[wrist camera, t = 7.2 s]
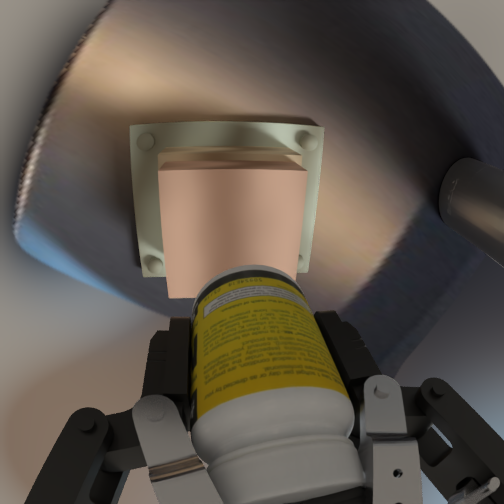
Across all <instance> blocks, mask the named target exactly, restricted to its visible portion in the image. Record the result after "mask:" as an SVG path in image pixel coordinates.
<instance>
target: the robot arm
mask: <svg viewBox="0 0 504 504" xmlns="http://www.w3.org/2000/svg"><path fill="white" fill-rule="evenodd" d="M439 210H440V215H441V217H442V220H443V221H444V223H445V224H446V225H447V226H448V227H450V228H451V229H453V230H454V231H456V232H457V233H458V234H460V235H461V236H463V237H464V238H465V239H467V240H468V241H469V242H471V243H472V244H474V245H475V246H476V247H478V248H479V249H480V250H482V251H483V252H484V253H486V254H487V255H489V256H490V257H491V258H492V259H494V260H495V261H496V262H497V263H499V264H500V265H501V266H503V267H504V171H503V170H501V169H498V168H496V167H494V166H491V165H489V164H486V163H483V162H481V161H478V160H476V159H472V158H463V159H460V160H458V161H457V162H456V163H454V164H453V165H452V166H451V168H450V169H449V170H448V172H447V173H446V175H445V177H444V180H443V182H442V185H441V189H440V194H439ZM314 318H315V321H316V323H317V325H318V328H319V330H320V332H321V334H322V337H323V339H324V341H325V344H326V346H327V348H328V350H329V353H330V355H331V357H332V359H333V362H334V364H335V366H336V368H337V371H338V373H339V375H340V378H341V380H342V382H343V384H344V387H345V389H346V391H347V394H348V396H349V398H350V401H351V403H352V406H353V409H354V415H355V419H354V426H353V429H352V431H351V433H350V435H349V437H348V439H350V440H351V441H352V442H353V444H354V447H355V448H356V449H357V452H358V455H359V458H360V461H361V464H362V468H363V471H364V473H365V478H366V487H365V488H362V486H358V487H355V488H351V489H348V490H344V491H340V492H337V493H333V494H329V495H325V496H320V497H316V498H311V499H309V500H307V501H304V502H302V503H299V504H423V500H422V483H421V470H422V471H423V473H424V474H425V475H426V476H427V477H428V479H429V480H430V481H431V482H432V483H433V485H434V486H435V487H436V488H437V489H438V491H439V492H440V493H441V494H442V495H443V496H444V498H445V499H446V500H447V501H448V504H504V440H503V439H502V438H501V437H500V436H499V435H498V434H497V433H496V432H495V431H494V430H493V429H492V428H491V427H490V426H489V425H488V424H487V423H486V422H485V420H484V419H483V418H482V417H481V416H480V415H478V413H477V412H476V411H475V410H474V409H473V408H472V407H471V406H470V405H469V404H468V403H467V402H466V401H465V400H464V399H463V398H462V397H461V396H460V395H459V394H458V393H457V392H456V391H455V390H454V389H453V388H452V387H451V386H450V385H449V384H448V383H446V382H445V381H444V380H441V379H439V378H428V379H426V380H425V381H424V382H423V383H422V385H421V386H420V387H402V386H399V385H398V383H397V382H396V381H395V380H394V379H392V378H391V377H388V376H385V375H382V373H381V372H380V370H379V368H378V366H377V364H376V363H375V361H374V359H373V357H372V356H371V354H370V352H369V350H368V349H367V348H366V345H365V343H364V342H363V340H362V338H361V336H360V335H359V333H358V331H357V329H356V328H354V327H353V326H352V325H351V324H349V323H348V322H341V320H340V318H339V316H338V315H337V313H336V311H334V310H330V311H317V312H315V314H314ZM191 333H192V328H191V318H190V317H171V319H170V327H169V331H157V332H156V334H155V335H154V336H153V337H152V339H151V340H150V346H149V353H148V358H147V363H146V370H145V376H144V383H143V390H142V395H141V398H140V400H138V402H136V403H135V405H134V407H133V408H131V409H129V410H127V411H125V412H121V413H116V414H111V415H106V416H105V415H104V414H103V413H102V412H101V411H100V410H98V409H95V408H89V407H87V408H82V409H79V410H77V411H75V412H74V413H73V414H72V415H71V416H70V418H69V420H68V421H67V423H66V425H65V427H64V428H63V430H62V432H61V434H60V436H59V437H58V439H57V441H56V443H55V444H54V446H53V448H52V450H51V452H50V454H49V456H48V457H47V460H46V461H45V463H44V465H43V467H42V469H41V471H40V473H39V475H38V477H37V479H36V481H35V483H34V485H33V487H32V489H31V491H30V493H29V495H28V497H27V499H26V501H25V503H24V504H117V503H118V501H119V498H120V495H121V493H122V490H123V488H124V485H125V482H126V480H127V477H128V475H129V472H130V470H131V469H136V468H141V467H145V466H148V469H149V477H150V480H151V484H152V486H153V489H154V492H155V494H156V497H157V499H158V502H159V504H224V503H223V501H222V499H221V498H220V496H219V494H218V492H217V490H216V488H215V486H214V484H213V482H212V480H211V479H210V477H209V475H208V473H207V471H206V469H205V467H204V465H203V463H202V461H201V460H200V459H199V458H198V456H197V454H196V452H195V449H194V447H193V445H192V443H191V441H190V438H189V436H188V431H190V362H191ZM433 424H434V425H435V426H436V427H437V428H438V429H439V430H440V431H441V432H442V433H443V435H444V436H445V437H446V438H447V439H448V440H449V441H450V442H451V444H452V447H453V448H451V447H449V446H448V445H447V444H446V443H445V441H444V440H443V439H442V438H441V437H440V436H439V435H438V434H437V432H436V431H435V430H434V429H433V428H432V427H431V426H432V425H433ZM420 469H421V470H420Z"/></svg>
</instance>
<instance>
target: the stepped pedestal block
mask: <svg viewBox="0 0 504 504" xmlns="http://www.w3.org/2000/svg"><path fill="white" fill-rule="evenodd" d="M323 139H324V127H321V126H314V125H302V124H290V123H274V122H251V121H188V122H165V123H149V124H137V125H131V126H130V154H131V172H132V186H133V198H134V209H135V219H136V228H137V236H138V244H139V252H140V259H141V266H142V272H143V277H167V286H168V294H169V298H196V297H197V295H198V293H199V292H200V290H201V289H202V288H203V286H204V285H205V284H206V283H207V282H208V281H210V280H211V279H212V278H213V277H215V276H216V275H218V274H220V273H222V272H224V271H226V270H228V269H231V268H234V267H238V266H243V265H265V266H270V267H273V268H276V269H279V270H281V271H283V272H285V273H286V274H288V275H289V276H290V277H291V278H292V279H294V280H295V281H296V273H303V272H308V267H309V260H310V253H311V246H312V239H313V231H314V223H315V215H316V207H317V199H318V190H319V181H320V171H321V161H322V150H323Z"/></svg>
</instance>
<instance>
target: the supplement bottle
mask: <svg viewBox="0 0 504 504" xmlns="http://www.w3.org/2000/svg"><path fill="white" fill-rule="evenodd" d="M191 327H192V333H191V362H190V432H191V442H192V445H193V447H194V449H195V452H196V453H197V455H198V456H199V457H200V458H201V459H202V460H203V461H204V462H205V463H207V464H208V465H209V466H208V468H207V470H206V471H207V473H208V475H209V477H210V479H211V480H212V482H213V484H214V486H215V488H216V490H217V492H218V494H219V496H220V498H221V499H222V501H223V503H224V504H299V503H302V502H304V501H307V500H309V499H311V498H316V497H320V496H325V495H329V494H333V493H337V492H340V491H344V490H348V489H351V488H355V487H358V486H362V488H365V487H366V478H365V473H364V471H363V468H362V464H361V461H360V458H359V455H358V452H357V449H356V448H355V447H354V444H353V442H352V441H351V440H350V439H348V437H349V435H350V433H351V431H352V429H353V426H354V419H355V415H354V409H353V406H352V403H351V401H350V398H349V396H348V394H347V391H346V389H345V387H344V384H343V382H342V380H341V378H340V375H339V373H338V371H337V368H336V366H335V364H334V362H333V359H332V357H331V355H330V353H329V350H328V348H327V346H326V344H325V341H324V339H323V337H322V334H321V332H320V330H319V328H318V325H317V323H316V321H315V318H314V316H313V314H312V312H311V310H310V307H309V305H308V303H307V301H306V298H305V296H304V294H303V292H302V290H301V288H300V287H299V285H298V284H297V283H296V282H295V280H294V279H292V278H291V277H290V276H289V275H288V274H286V273H285V272H283V271H281V270H279V269H276V268H273V267H270V266H265V265H243V266H238V267H234V268H231V269H228V270H226V271H224V272H222V273H220V274H218V275H216V276H215V277H213V278H212V279H211V280H210V281H208V282H207V283H206V284H205V285H204V286H203V288H202V289H201V290H200V292H199V293H198V295H197V297H196V299H195V302H194V305H193V311H192V322H191Z"/></svg>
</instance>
